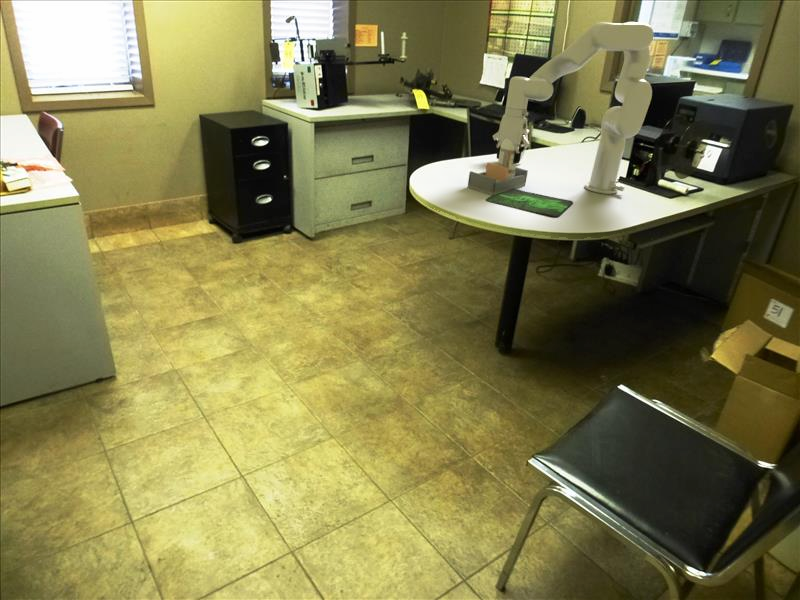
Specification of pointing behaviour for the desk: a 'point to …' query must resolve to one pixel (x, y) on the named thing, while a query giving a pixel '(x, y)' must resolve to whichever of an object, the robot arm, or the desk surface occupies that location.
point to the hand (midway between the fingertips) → (507, 160)
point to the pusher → (496, 172)
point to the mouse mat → (531, 202)
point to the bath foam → (507, 157)
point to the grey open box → (491, 186)
